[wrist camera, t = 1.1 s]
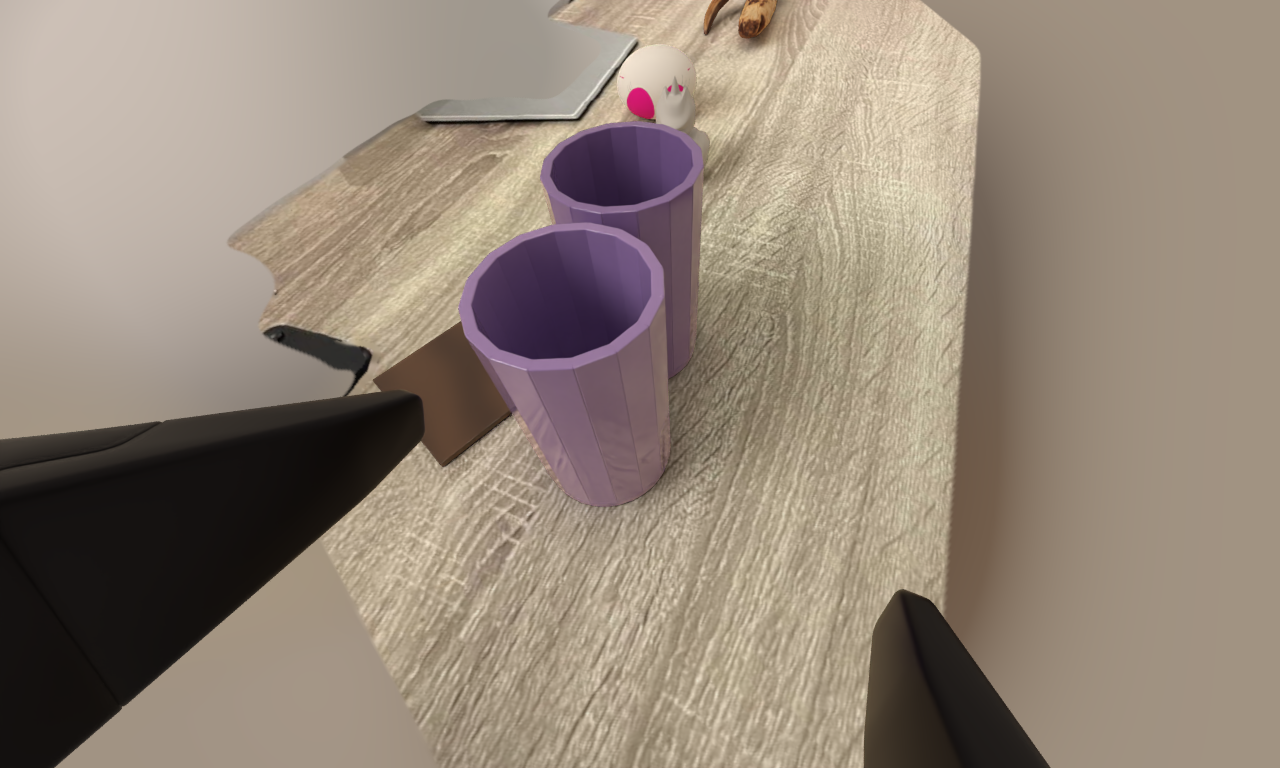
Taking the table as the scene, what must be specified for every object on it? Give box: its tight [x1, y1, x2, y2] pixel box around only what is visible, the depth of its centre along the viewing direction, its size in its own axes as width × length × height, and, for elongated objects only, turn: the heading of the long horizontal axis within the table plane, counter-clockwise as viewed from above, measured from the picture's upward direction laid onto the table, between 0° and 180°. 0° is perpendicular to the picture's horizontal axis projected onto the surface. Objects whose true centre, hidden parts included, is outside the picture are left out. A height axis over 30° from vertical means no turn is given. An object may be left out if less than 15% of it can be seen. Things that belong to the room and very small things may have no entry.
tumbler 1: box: [540, 121, 704, 379], centre depth 24 cm, size 7×7×12 cm
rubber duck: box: [656, 76, 710, 166], centre depth 36 cm, size 5×7×8 cm
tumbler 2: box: [458, 222, 671, 507], centre depth 20 cm, size 7×7×12 cm
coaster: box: [373, 321, 511, 467], centre depth 28 cm, size 8×8×1 cm
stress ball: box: [617, 44, 697, 119], centre depth 44 cm, size 8×8×7 cm
